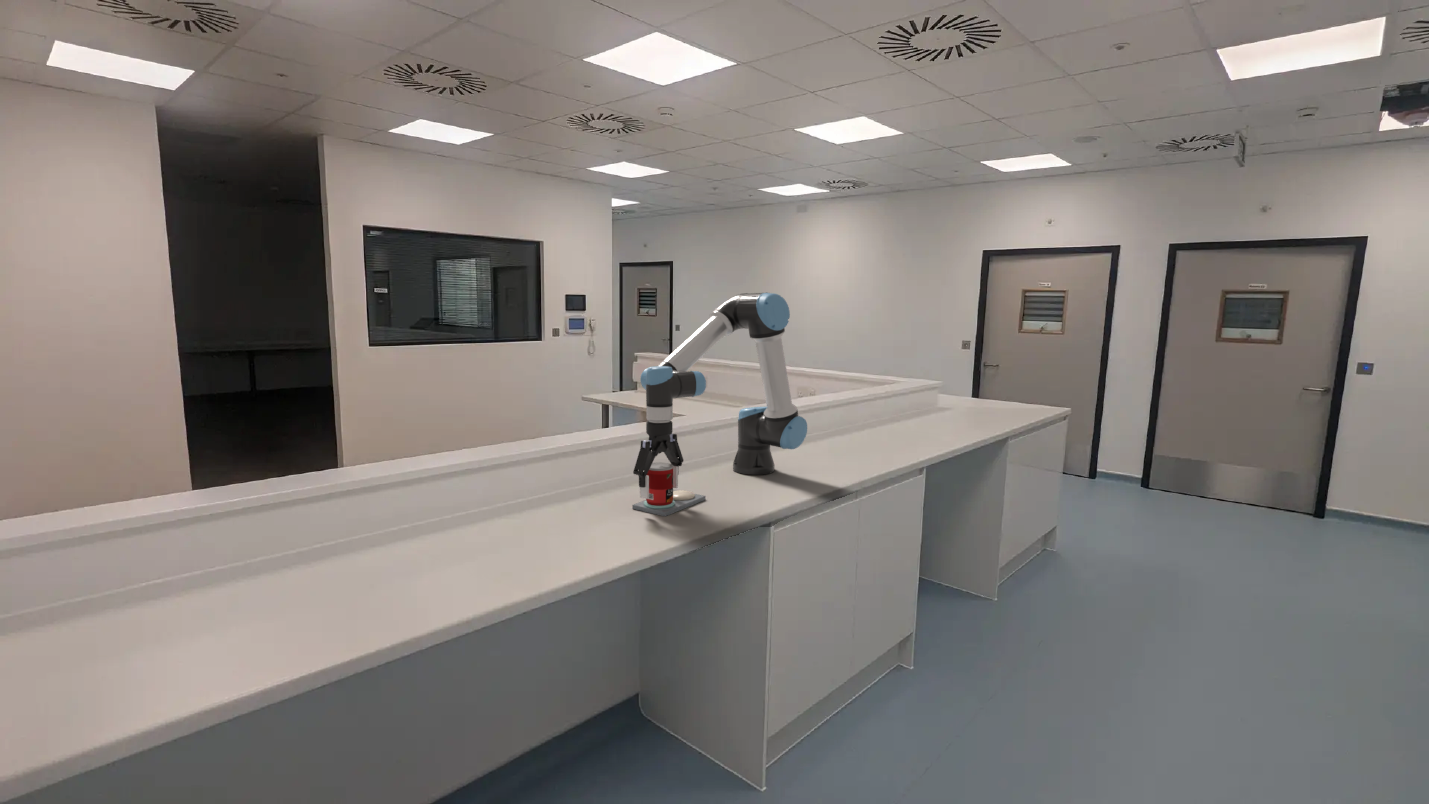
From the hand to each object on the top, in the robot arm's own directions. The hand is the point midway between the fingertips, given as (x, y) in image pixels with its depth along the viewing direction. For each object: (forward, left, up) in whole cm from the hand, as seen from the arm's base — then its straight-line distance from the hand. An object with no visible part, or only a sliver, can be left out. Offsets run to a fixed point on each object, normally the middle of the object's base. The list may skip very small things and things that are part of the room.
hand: (659, 492), depth 189 cm
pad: (0, 0, -3) cm, 3 cm away
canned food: (0, 0, -3) cm, 3 cm away
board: (-5, 0, -5) cm, 7 cm away
